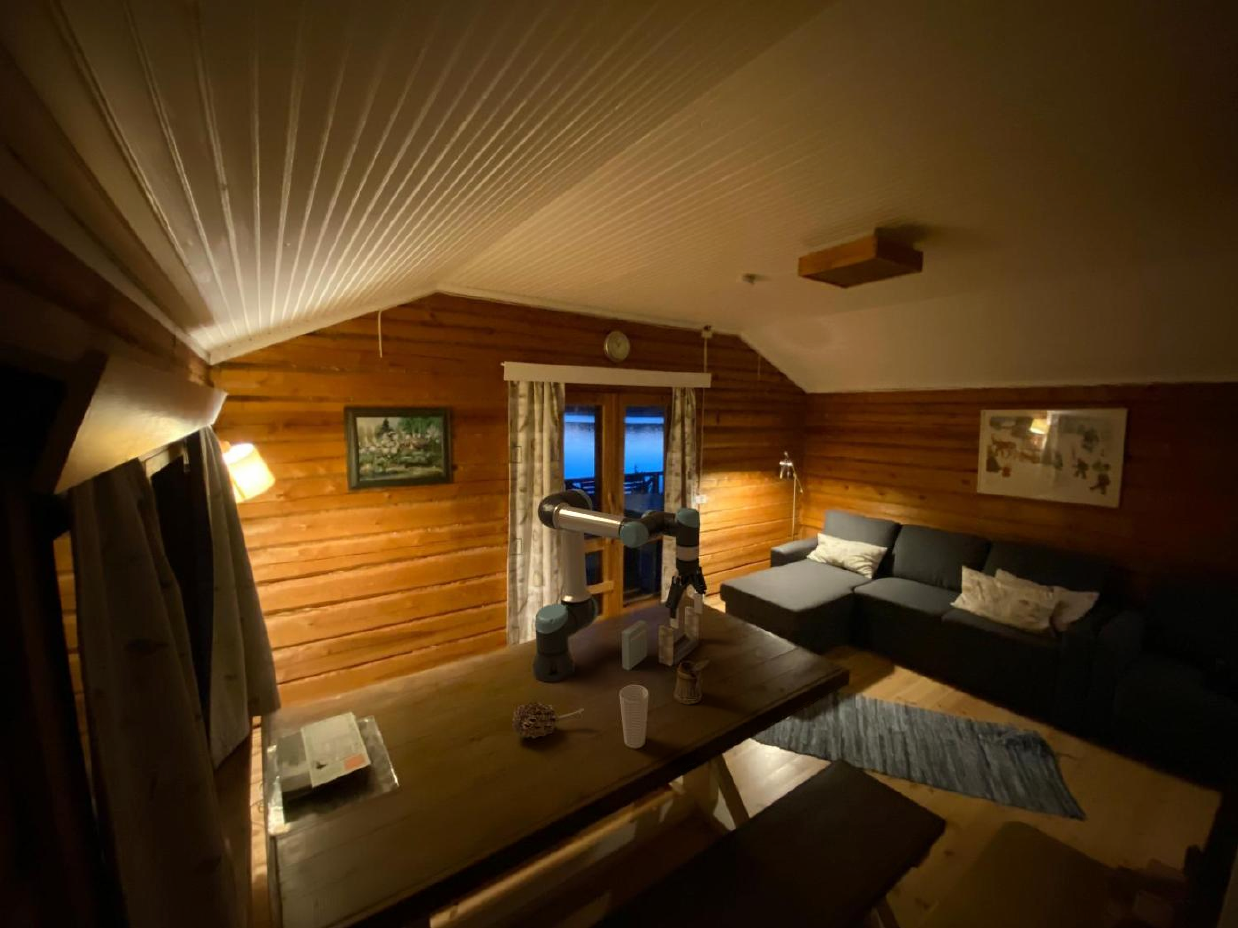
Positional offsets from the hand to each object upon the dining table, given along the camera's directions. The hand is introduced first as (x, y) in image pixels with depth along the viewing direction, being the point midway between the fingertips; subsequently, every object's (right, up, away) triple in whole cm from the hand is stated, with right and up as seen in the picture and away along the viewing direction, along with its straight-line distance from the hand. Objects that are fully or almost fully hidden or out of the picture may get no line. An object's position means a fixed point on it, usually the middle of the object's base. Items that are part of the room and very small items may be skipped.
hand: (686, 619), depth 166 cm
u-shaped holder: (+1, -23, +33) cm, 40 cm away
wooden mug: (+2, -27, +2) cm, 28 cm away
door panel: (-16, -24, +26) cm, 39 cm away
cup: (-17, -31, -17) cm, 39 cm away
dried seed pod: (-43, -30, -12) cm, 54 cm away
